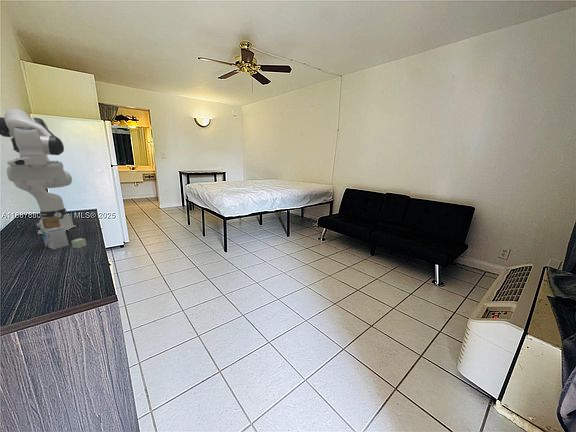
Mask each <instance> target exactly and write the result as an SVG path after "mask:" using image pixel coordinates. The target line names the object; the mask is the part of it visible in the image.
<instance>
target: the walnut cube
mask: <svg viewBox="0 0 576 432" xmlns="http://www.w3.org/2000/svg"><path fill="white" fill-rule="evenodd" d="M42 222H43V225H44V228H47V229H50V228H55V227H60V223H59V219H58V217H55V216H54V217H48V218H42Z"/></svg>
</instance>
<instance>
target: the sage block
mask: <svg viewBox="0 0 576 432" xmlns="http://www.w3.org/2000/svg"><path fill="white" fill-rule="evenodd" d="M86 240H87V239H86V238H83V237H82V238H80V237H79V238H76V239H73V240H71V245H72V249H80V248H84V247H86V246H88V245H87V241H86Z"/></svg>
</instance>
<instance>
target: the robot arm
mask: <svg viewBox="0 0 576 432" xmlns="http://www.w3.org/2000/svg"><path fill="white" fill-rule="evenodd" d="M0 136H2V137H3V138H4V137H5V138H10V141H11V143H12V148H13V151H15V152H16V153H18V155H19V158H14V159H11V160H8V161H7V162H6V163H7V165H8V166H7V168H6V174H7V179H8V180H9V181H10V182H11V183H13V184H14V185H15V186H16V187H17V188H18V189H20V190H22V191H25V192H27V193H29V194H30V195H32V197H33V198H34V199H35V200H36V202H37V205H38V207H39V210H40V211H39V215H40V219H39V222H37V223H35V224H36V227H37V228H41V227H44V225H43V222H42V218H48V217H54V216H55V217H58V219H59V223H60V226H63V227H64V228H65V232H67V231H66V230H68V231H70V230H69V229H71V228H73V227H75V228H77V227H76V226H77V225H76V224H75V225H74V223H73V220H72V217H71V215H68V212H67V209H66V208H65V204H64V202H63V198H62V196H60V195H59V194H56V193H50V192H48V191H47V189H56V188H57V189H58V188H63V187H64V188H65V187H68V186H71V184H72V182H73V178H72V175H71V174H70V173H69V172H68V171H66V170H64V164H63V162H61V161H59V160H50V159H49V156H50V155H52V156H60V155H61V154H63V153H64V151H65V146H64V142H63V141H62V140H61V138H59V137H58V136H56V135H55V134H53V133H52V132H51V131H50V130H49V127H48V125H47V123H46V122H45V121H44V119H42V118H40V117H31V116H30V115H29V114H28V113H27V112H26V111H24V110H22V109H19V108H16V107H15V108H9V109H7V110H6V111H5V113H4V116H3V117H2V116H0ZM48 155H49V156H48ZM73 229H74V228H73ZM71 230H72V229H71ZM39 234H42V232H41V230H38V232H37V235H39Z"/></svg>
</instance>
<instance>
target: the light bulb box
mask: <svg viewBox="0 0 576 432" xmlns="http://www.w3.org/2000/svg"><path fill="white" fill-rule="evenodd" d="M39 228H40V227H39ZM40 229H41V232H42V239H43V241H44V246H45V247H46V248H48V249H52V250H56V249H61V248H64V247H68V246H70V243H69V240H68V236H67V233H66V232H67V231H65V228H64V227H63V226H60V227H55V228H50V229H47V228H44V227H41V228H40Z"/></svg>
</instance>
